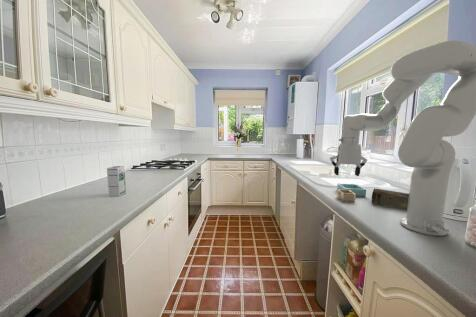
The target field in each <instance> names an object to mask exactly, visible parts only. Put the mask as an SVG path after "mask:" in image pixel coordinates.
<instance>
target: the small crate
mask: <svg viewBox="0 0 476 317" xmlns="http://www.w3.org/2000/svg"><path fill="white" fill-rule="evenodd" d="M336 192H337V194H336V197H337V199H339V200H340V201H341V202H349V203H350V202H351V203H355V202H356V196H355V195H356V194H355V193H353V192H352V191H350V190H336Z"/></svg>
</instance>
